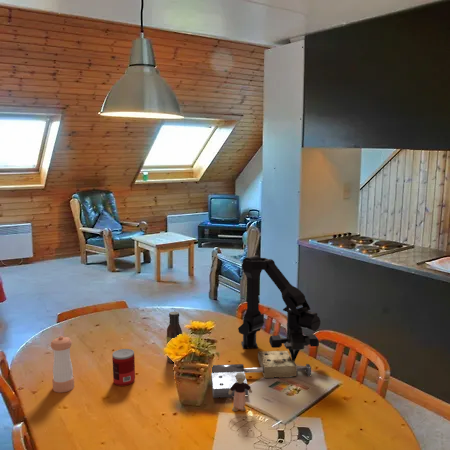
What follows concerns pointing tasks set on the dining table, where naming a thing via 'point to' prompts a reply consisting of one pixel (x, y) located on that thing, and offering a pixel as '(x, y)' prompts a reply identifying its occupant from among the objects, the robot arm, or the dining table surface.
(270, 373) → the beige block with rivets
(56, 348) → the pepper shaker
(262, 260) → the robot arm
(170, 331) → the sauce bottle
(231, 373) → the fixed leaf
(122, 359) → the canned food
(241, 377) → the grandmother figurine
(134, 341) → the dining table surface
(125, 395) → the dining table surface
